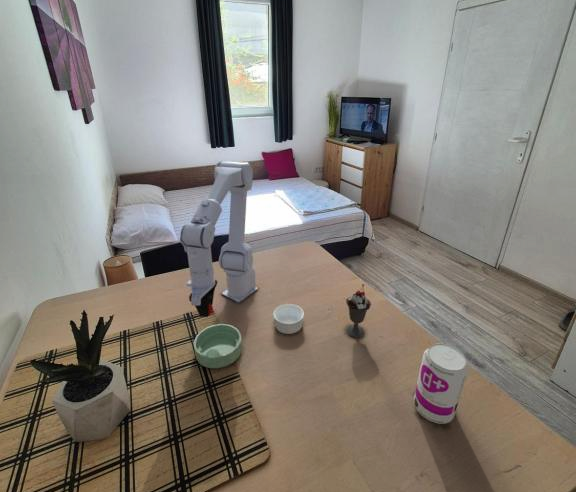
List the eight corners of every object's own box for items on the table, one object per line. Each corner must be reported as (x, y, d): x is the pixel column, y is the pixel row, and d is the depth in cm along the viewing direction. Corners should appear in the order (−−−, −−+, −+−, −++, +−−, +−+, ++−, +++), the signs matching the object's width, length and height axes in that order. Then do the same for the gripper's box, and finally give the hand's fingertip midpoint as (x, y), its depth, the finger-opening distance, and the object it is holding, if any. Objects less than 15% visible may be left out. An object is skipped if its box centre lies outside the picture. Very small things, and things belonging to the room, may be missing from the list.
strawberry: (207, 308, 91) (205, 296, 89) (216, 314, 89) (215, 301, 87) (196, 316, 88) (194, 303, 86) (205, 321, 86) (204, 308, 84)
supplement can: (435, 433, 66) (450, 379, 60) (405, 400, 72) (415, 349, 66) (462, 415, 69) (478, 363, 63) (430, 386, 76) (442, 336, 70)
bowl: (220, 329, 93) (218, 318, 92) (251, 347, 87) (250, 335, 85) (185, 355, 84) (184, 343, 83) (218, 377, 78) (216, 365, 76)
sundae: (365, 324, 95) (370, 281, 89) (368, 340, 89) (374, 295, 83) (342, 322, 96) (346, 279, 90) (344, 339, 90) (348, 294, 84)
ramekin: (268, 330, 93) (268, 318, 91) (280, 312, 100) (280, 300, 99) (297, 339, 90) (297, 327, 88) (307, 319, 97) (308, 307, 95)
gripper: (193, 253, 89) (198, 294, 94) (175, 283, 76) (183, 329, 81) (219, 253, 89) (223, 294, 94) (205, 283, 76) (211, 329, 81)
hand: (206, 310), depth 88 cm, fingers closed on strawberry, 3 cm apart
